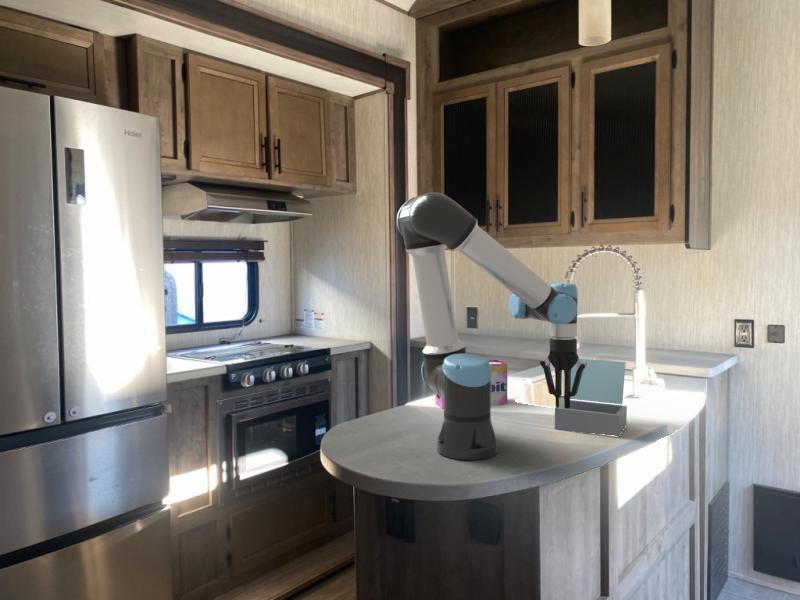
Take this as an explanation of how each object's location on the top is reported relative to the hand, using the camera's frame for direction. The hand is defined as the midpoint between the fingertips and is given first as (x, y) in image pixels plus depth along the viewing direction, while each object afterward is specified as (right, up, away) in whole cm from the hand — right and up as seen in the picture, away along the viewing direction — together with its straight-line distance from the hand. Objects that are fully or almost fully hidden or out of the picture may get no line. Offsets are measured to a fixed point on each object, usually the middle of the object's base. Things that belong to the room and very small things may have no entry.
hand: (562, 419), depth 173 cm
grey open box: (+6, -2, -4) cm, 8 cm away
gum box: (-23, 0, +26) cm, 35 cm away
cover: (+10, +11, +3) cm, 15 cm away
